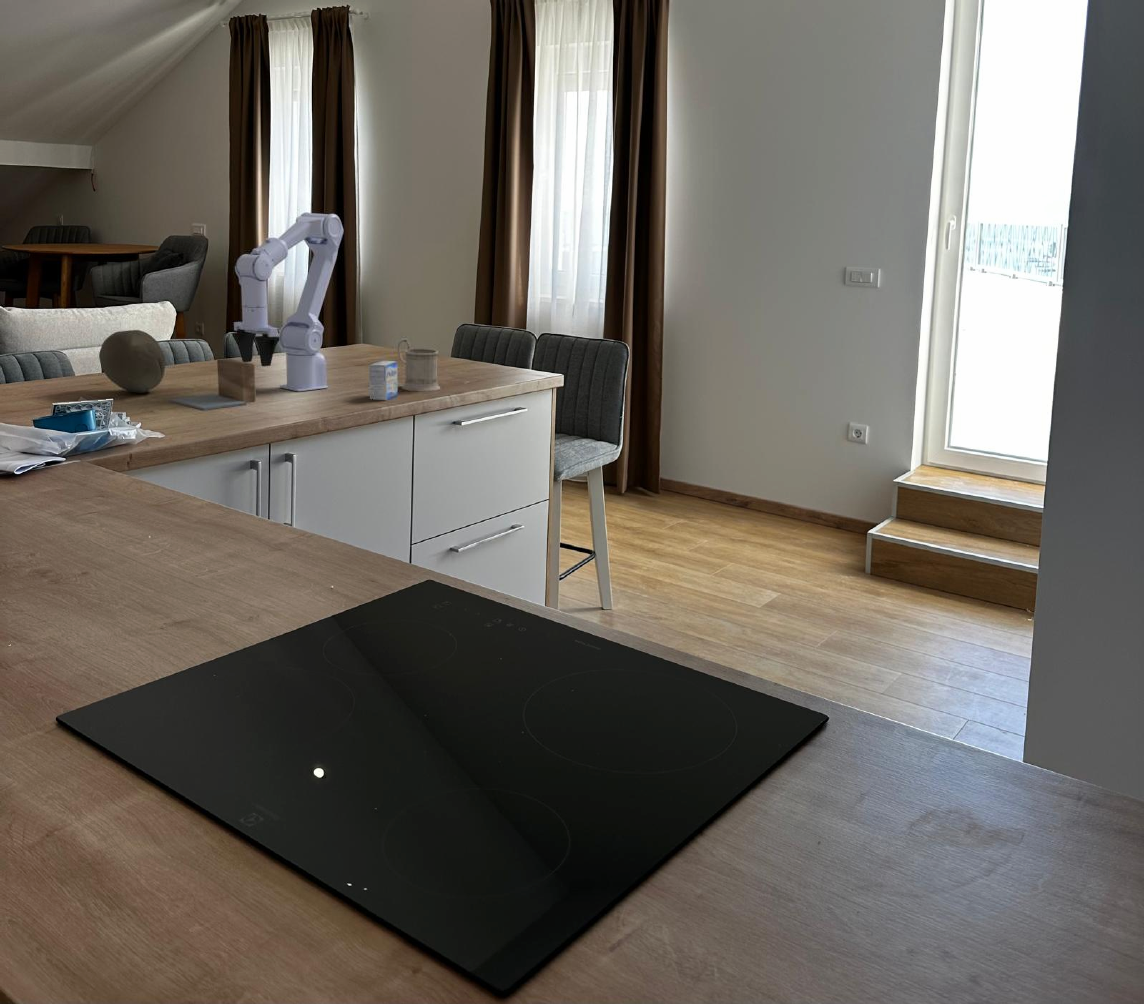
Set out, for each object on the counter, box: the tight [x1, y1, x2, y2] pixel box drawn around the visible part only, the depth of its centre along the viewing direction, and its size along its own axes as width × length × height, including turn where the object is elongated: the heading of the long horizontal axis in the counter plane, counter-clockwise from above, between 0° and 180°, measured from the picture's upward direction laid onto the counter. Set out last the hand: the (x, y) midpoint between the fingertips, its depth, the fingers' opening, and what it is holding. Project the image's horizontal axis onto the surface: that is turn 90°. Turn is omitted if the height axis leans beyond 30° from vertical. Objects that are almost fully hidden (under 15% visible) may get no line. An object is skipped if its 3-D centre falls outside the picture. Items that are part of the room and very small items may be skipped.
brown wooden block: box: [216, 358, 257, 404], centre depth 262 cm, size 4×10×9 cm, turn 50°
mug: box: [397, 338, 441, 392], centre depth 289 cm, size 14×10×12 cm
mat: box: [169, 393, 247, 411], centre depth 257 cm, size 11×14×1 cm
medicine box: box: [368, 360, 398, 402], centre depth 272 cm, size 8×4×9 cm, turn 168°
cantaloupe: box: [98, 329, 166, 394], centre depth 263 cm, size 14×14×15 cm
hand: (256, 363), depth 265 cm, fingers open, 7 cm apart
